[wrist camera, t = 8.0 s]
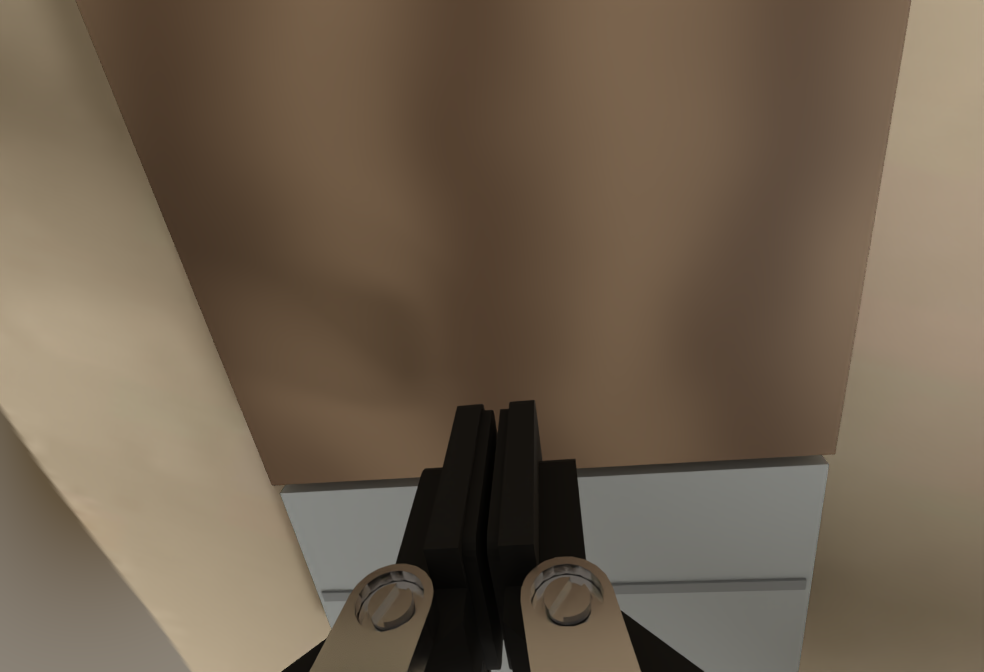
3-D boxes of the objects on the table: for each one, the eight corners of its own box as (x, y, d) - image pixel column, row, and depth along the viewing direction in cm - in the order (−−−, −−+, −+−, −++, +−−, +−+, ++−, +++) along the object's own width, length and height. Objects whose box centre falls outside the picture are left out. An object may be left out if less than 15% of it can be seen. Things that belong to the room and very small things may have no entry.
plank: (884, -212, 10) (956, -269, 8) (802, 411, 16) (834, 453, 14) (117, -55, 12) (45, -74, 11) (298, 444, 18) (272, 485, 17)
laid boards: (797, 422, 17) (830, 466, 15) (775, 623, 20) (799, 679, 18) (304, 453, 19) (278, 495, 17) (365, 630, 22) (349, 681, 21)
